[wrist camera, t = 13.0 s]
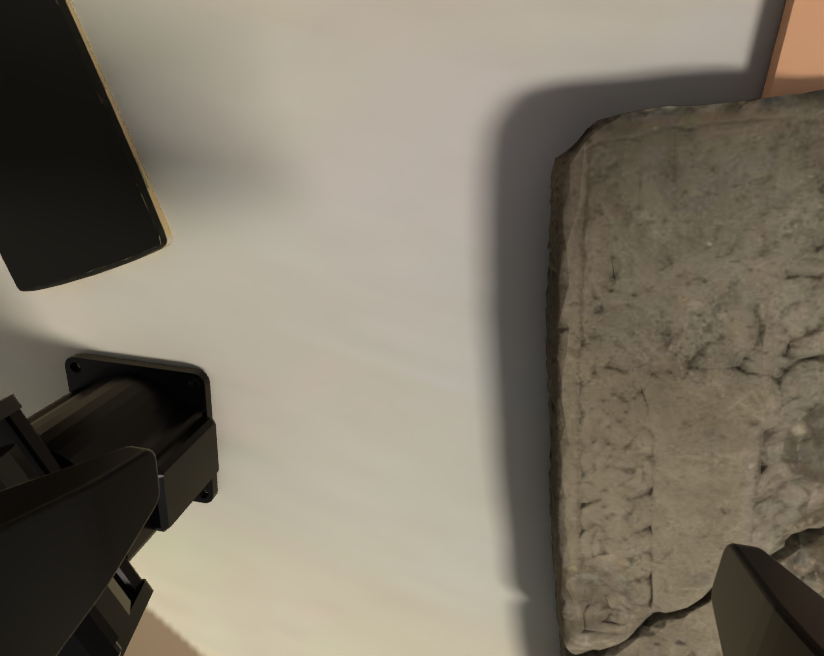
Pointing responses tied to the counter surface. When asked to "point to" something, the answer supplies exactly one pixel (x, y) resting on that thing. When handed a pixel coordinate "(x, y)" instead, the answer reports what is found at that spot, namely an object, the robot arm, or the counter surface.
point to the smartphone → (65, 156)
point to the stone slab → (684, 365)
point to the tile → (798, 50)
